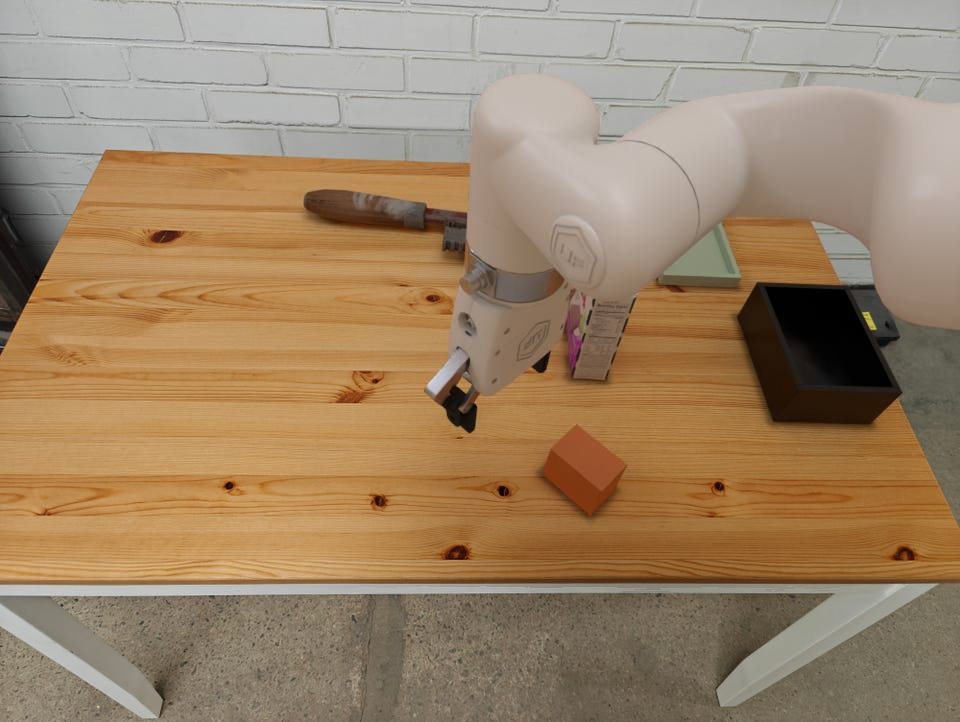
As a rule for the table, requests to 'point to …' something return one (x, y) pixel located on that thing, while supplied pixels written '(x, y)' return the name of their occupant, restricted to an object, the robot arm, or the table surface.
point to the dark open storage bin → (815, 354)
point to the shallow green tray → (705, 264)
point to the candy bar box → (595, 334)
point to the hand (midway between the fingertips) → (497, 391)
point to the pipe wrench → (388, 213)
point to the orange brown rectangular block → (583, 469)
